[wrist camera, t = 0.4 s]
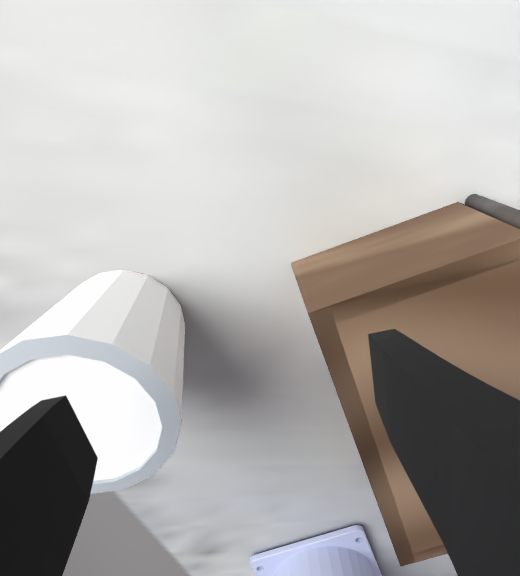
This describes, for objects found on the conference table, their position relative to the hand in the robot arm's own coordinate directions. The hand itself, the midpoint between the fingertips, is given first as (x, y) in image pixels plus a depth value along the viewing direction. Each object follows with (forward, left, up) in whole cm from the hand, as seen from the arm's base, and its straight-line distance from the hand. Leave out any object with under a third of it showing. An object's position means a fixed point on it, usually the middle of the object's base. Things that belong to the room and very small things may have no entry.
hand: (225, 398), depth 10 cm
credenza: (-9, -7, -10) cm, 15 cm away
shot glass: (-1, +6, -10) cm, 12 cm away
